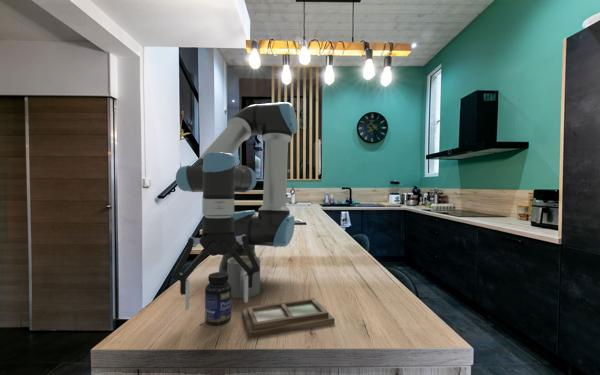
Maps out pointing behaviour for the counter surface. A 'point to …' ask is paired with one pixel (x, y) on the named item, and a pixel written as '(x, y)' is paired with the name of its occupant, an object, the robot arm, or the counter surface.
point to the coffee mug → (242, 277)
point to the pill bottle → (218, 299)
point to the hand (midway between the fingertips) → (217, 304)
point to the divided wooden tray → (285, 317)
